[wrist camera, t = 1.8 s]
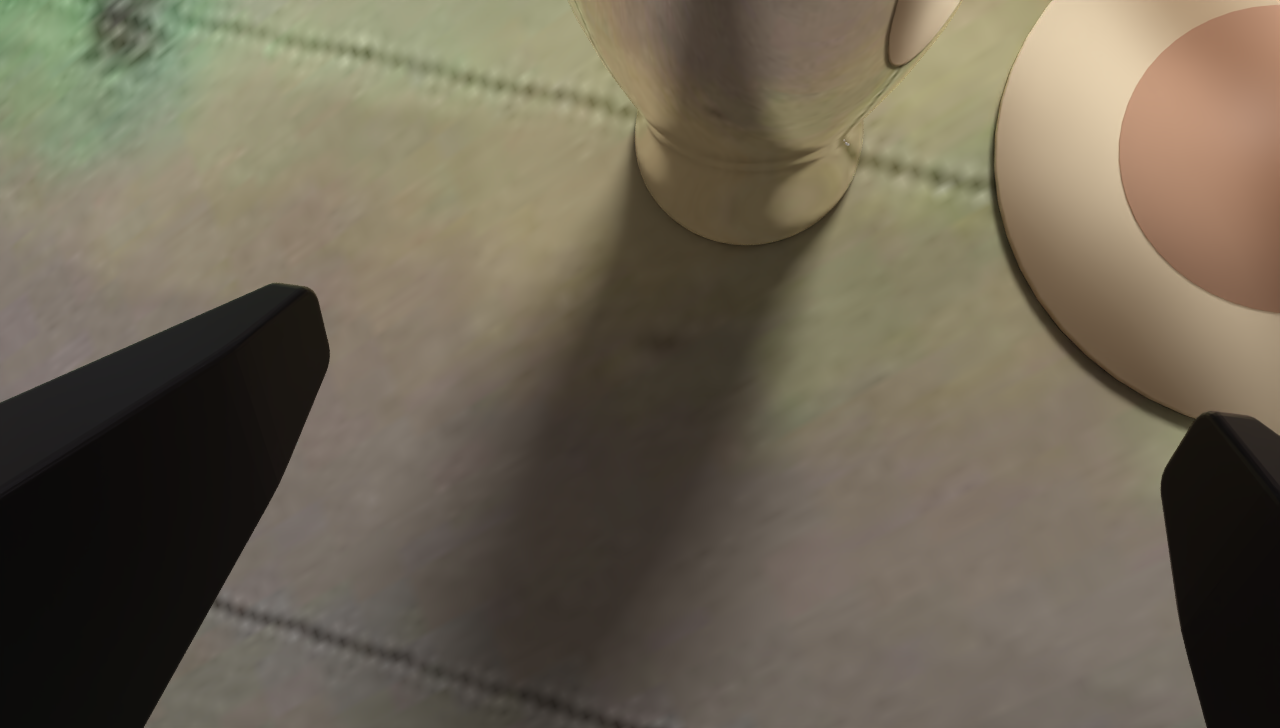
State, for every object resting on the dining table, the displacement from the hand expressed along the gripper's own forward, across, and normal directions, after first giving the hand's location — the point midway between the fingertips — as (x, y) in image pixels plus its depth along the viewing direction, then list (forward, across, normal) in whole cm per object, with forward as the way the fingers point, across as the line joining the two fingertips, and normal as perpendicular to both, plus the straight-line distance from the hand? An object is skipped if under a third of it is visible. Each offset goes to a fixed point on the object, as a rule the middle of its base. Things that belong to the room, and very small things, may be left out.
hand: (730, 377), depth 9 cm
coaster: (+16, -13, +4) cm, 21 cm away
